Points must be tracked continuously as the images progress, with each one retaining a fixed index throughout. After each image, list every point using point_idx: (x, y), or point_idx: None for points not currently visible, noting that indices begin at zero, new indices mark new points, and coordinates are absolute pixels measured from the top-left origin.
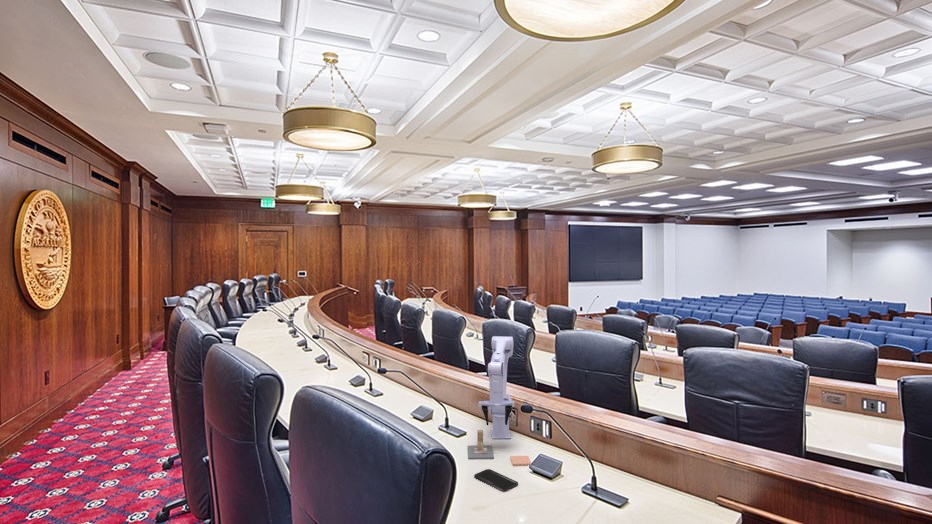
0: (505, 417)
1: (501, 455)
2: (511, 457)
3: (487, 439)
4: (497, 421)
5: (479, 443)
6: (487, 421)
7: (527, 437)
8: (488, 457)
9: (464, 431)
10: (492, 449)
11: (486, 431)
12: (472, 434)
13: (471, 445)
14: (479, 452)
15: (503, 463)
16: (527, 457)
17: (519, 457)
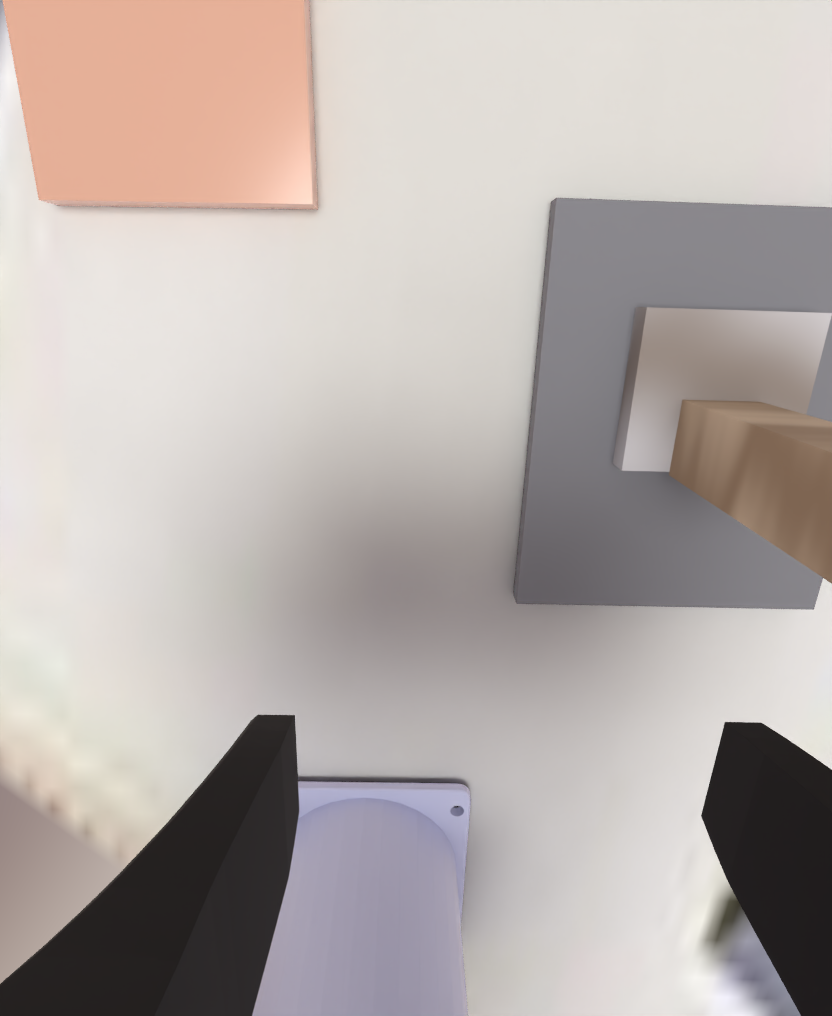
0: (247, 933)
1: (430, 320)
2: (299, 144)
3: (526, 776)
4: (411, 1010)
5: (794, 420)
6: (823, 781)
7: (74, 802)
8: (638, 203)
9: (722, 953)
10: (529, 476)
11: (501, 945)
12: (659, 891)
13: (766, 608)
14: (756, 321)
15: (440, 13)
16: (48, 124)
17: (174, 137)
